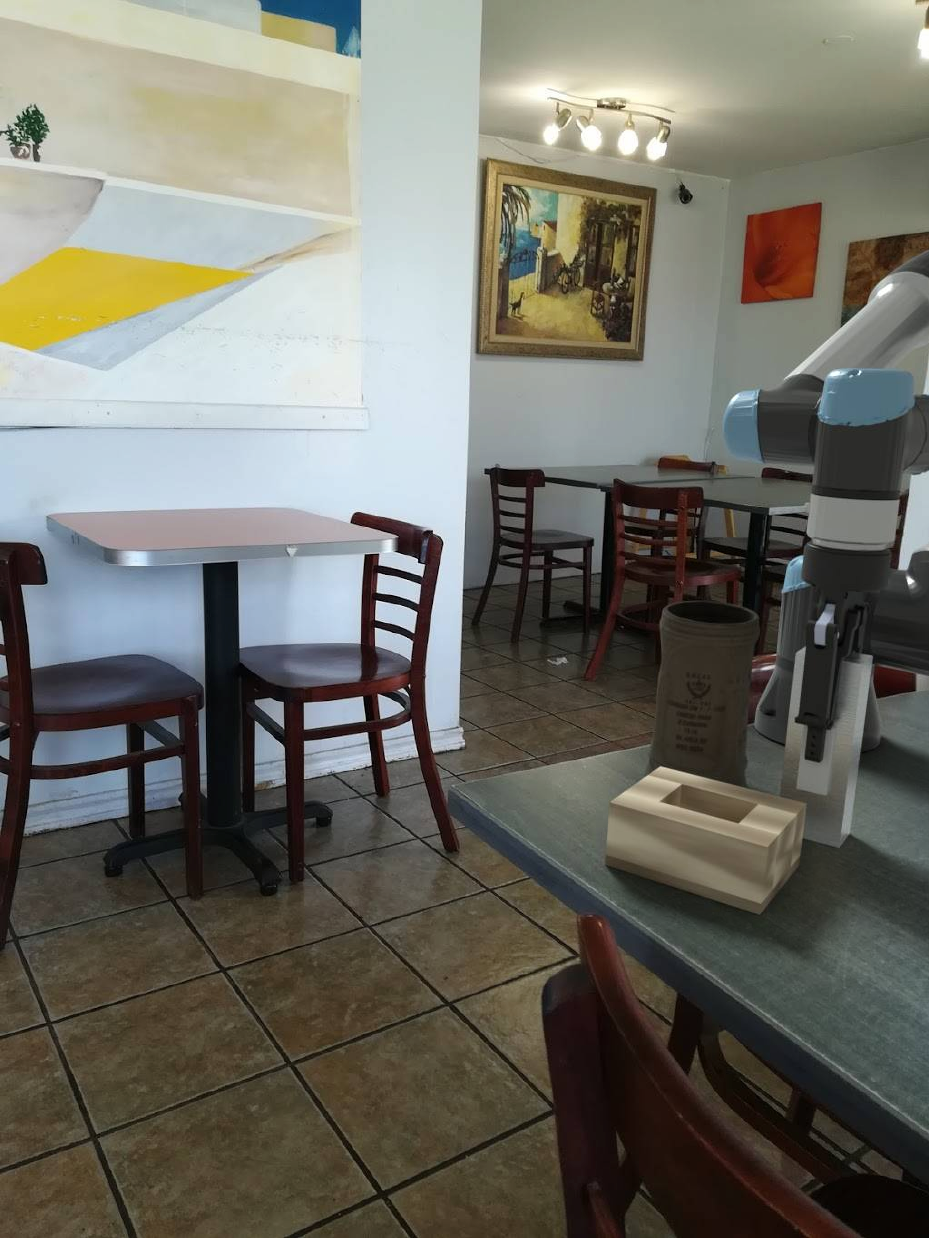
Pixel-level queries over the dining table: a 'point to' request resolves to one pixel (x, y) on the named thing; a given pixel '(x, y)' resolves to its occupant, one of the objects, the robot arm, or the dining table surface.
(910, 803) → the dining table surface
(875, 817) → the dining table surface
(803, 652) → the tall grey pillar
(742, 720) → the beer stein
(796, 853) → the well block
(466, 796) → the dining table surface
